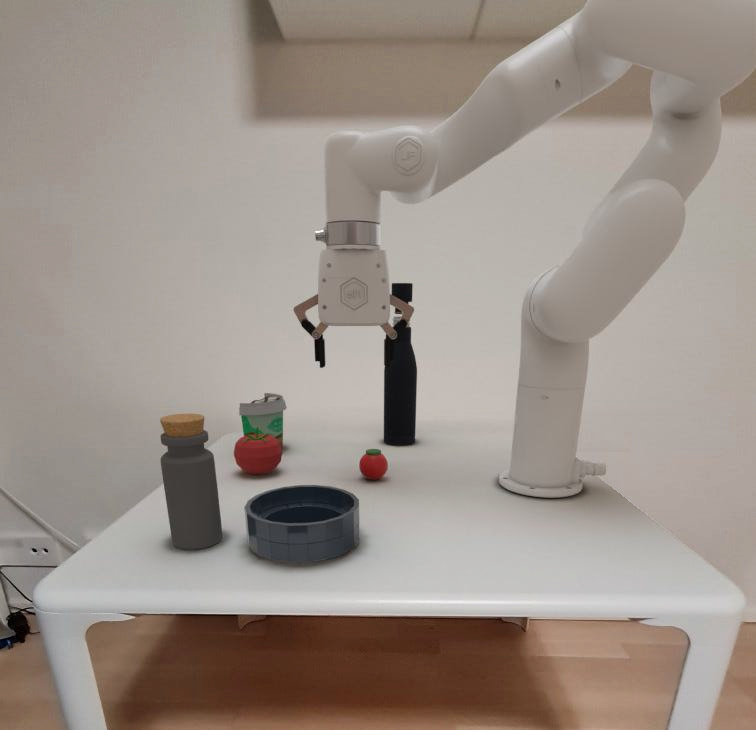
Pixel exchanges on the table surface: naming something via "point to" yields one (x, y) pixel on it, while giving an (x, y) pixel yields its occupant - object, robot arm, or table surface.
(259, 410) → the food container
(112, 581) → the table surface
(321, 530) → the bowl
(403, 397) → the black water bottle
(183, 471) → the bottle
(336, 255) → the robot arm
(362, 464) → the cherry tomato
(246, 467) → the tomato
